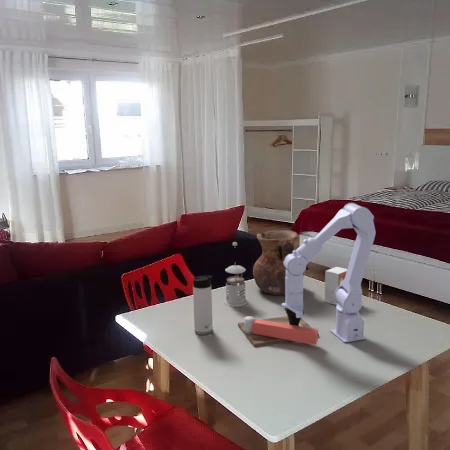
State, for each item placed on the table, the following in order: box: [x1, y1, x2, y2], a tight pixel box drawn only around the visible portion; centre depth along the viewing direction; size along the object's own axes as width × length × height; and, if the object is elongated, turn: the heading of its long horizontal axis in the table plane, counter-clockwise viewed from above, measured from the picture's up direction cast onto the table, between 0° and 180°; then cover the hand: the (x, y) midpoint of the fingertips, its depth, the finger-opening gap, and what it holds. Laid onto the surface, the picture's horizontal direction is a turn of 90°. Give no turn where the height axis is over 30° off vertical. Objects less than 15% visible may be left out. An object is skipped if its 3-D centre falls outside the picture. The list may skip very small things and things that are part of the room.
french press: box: [223, 241, 249, 308], centre depth 184 cm, size 10×12×25 cm
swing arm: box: [243, 315, 319, 346], centre depth 150 cm, size 4×25×4 cm, turn 65°
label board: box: [237, 315, 320, 348], centre depth 158 cm, size 17×23×1 cm
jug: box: [252, 229, 305, 296], centre depth 196 cm, size 22×21×25 cm
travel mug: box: [192, 274, 214, 336], centre depth 157 cm, size 6×7×20 cm
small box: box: [324, 266, 348, 306], centre depth 183 cm, size 8×6×13 cm
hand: (293, 329), depth 152 cm, fingers closed
